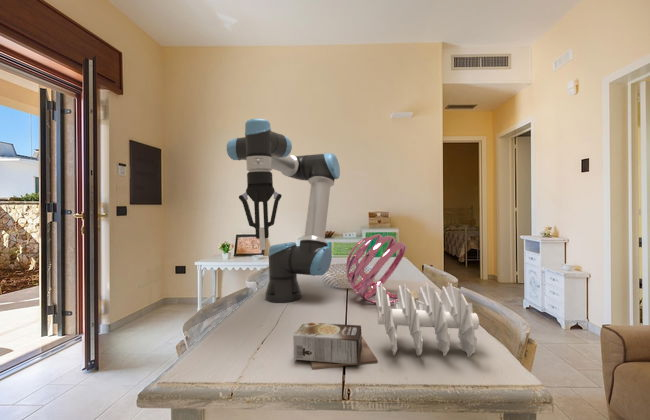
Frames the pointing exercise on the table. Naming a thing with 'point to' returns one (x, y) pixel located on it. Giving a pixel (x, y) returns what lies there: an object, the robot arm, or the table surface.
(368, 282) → the spiral basket
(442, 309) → the spiral staircase
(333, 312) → the table surface
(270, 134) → the robot arm
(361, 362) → the walnut board
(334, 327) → the coffee box
